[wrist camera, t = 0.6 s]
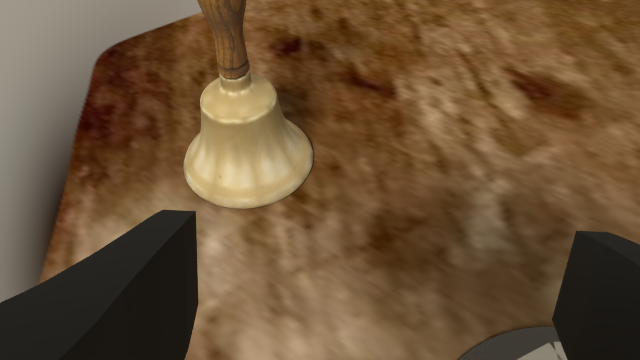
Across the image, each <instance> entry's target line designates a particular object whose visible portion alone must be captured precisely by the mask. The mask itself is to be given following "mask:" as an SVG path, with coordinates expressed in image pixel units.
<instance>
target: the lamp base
mask: <svg viewBox="0 0 640 360" xmlns="http://www.w3.org/2000/svg"><path fill="white" fill-rule="evenodd" d="M459 360H567V357H566V355H565V353H564V350H563V348H562V345H561V343H560V340H559V337H558V334H557V331H556V329H555V327H533V328H525V329H518V330H515V331H511V332H507V333H503V334H501V335H498V336H496V337H493V338H491V339H489V340H486V341H484V342H483V343H481V344H479V345H478V346H476V347H474V348H473V349H471V350H470V351H469V352H467V353H466V354H465V355H464V356H463V357H461V358H460V359H459Z"/></svg>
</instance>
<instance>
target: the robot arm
mask: <svg viewBox="0 0 640 360" xmlns="http://www.w3.org/2000/svg"><path fill="white" fill-rule="evenodd" d="M197 307H198V276H197V241H196V211H177V210H162V211H160V212H158V213H156V214H154V215H153V216H151V217H149V218H148V219H146V220H145V221H143V222H142V223H140V224H139V225H137V226H136V227H134V228H133V229H131V230H130V231H128V232H127V233H125V234H123V235H122V236H120V237H119V238H117V239H116V240H114V241H113V242H111V243H109V244H108V245H106V246H105V247H103V248H102V249H100V250H99V251H97V252H95V253H94V254H92V255H90V256H89V257H87V258H85V259H83V260H82V261H80V262H78V263H76V264H75V265H73V266H71V267H69V268H68V269H66V270H64V271H62V272H61V273H59V274H57V275H56V276H54V277H52V278H50V279H48V280H47V281H45V282H43V283H41V284H39V285H37V286H35V287H33V288H31V289H29V290H27V291H25V292H23V293H21V294H19V295H16V296H14V297H12V298H10V299H8V300H5V301H3V302H1V303H0V360H184V359H185V357H186V354H187V351H188V348H189V343H190V339H191V335H192V330H193V326H194V321H195V316H196V312H197ZM552 320H553V323H554V326H555V329H556V331H557V334H558V337H559V340H560V343H561V345H562V348H563V350H564V353H565V355H566V357H567V360H640V245H639V244H637V243H635V242H632V241H630V240H628V239H625V238H623V237H620V236H617V235H614V234H611V233H608V232H590V231H576V234H575V238H574V241H573V245H572V249H571V252H570V256H569V259H568V263H567V267H566V270H565V274H564V278H563V281H562V285H561V289H560V292H559V296H558V300H557V303H556V307H555V311H554V314H553V318H552Z"/></svg>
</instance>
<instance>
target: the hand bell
mask: <svg viewBox="0 0 640 360" xmlns="http://www.w3.org/2000/svg"><path fill="white" fill-rule="evenodd" d="M198 3H199V5H200V8H201V10H202V12H203V14H204V16H205V17H206V19H207V21H208V23H209V24H210V27H211V29H212V32H213V35H214V40H215V47H216V54H217V61H218V71H219V75H220V78H218V79H216V80H214V81H213V82H211V83H210V84H209V85H208V86H207V87H206V88H205V90H204V91H203V93H202V96H201V100H200V106H201V132H200V133H199V134H198V135H197V136H196V137H195V138H194V140H193V141H192V143H191V144H190V146H189V148H188V150H187V153H186V156H185V160H184V174H185V178H186V180H187V182H188V184H189V186H190V187H191V188H192V189H193V191H194V192H195V193H196V194H198V195H199V196H200V197H202V198H203V199H205V200H207V201H209V202H211V203H213V204H216V205H219V206H223V207H228V208H242V209H245V208H255V207H260V206H265V205H268V204H272V203H274V202H276V201H279V200H281V199H283V198H285V197H286V196H288V195H290V194H291V193H293V192H294V191H295V190H296V189H297V188H298V187H299V186H300V185H301V184H302V183H303V182H304V181H305V179H306V178H307V176H308V174H309V173H310V170H311V168H312V165H313V150H312V147H311V144H310V141H309V140H308V138H307V137H306V135H305V134H304V133H303V132H302V130H301V129H300V128H298V127H297V126H296V125H295V124H293V123H292V122H290V121H289V120H287V119H285V118H284V116H283V113H282V111H281V108H280V104H279V101H278V97H277V93H276V90H275V88H274V87H273V85H272V84H271V83H270V82H269V81H268V80H266V79H265V78H263V77H261V76H259V75H255V74H250V71H249V69H250V66H249V61H248V59H247V58H248V57H247V52H246V47H245V42H244V37H243V17H244V12H245V7H246V0H198Z"/></svg>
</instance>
